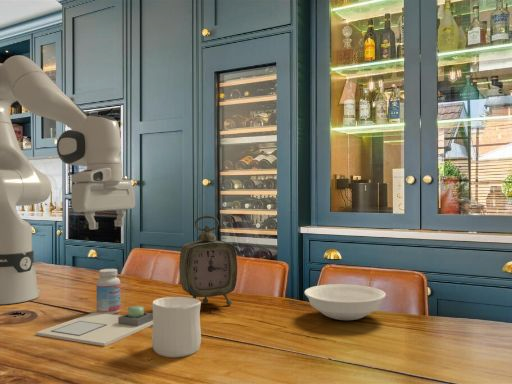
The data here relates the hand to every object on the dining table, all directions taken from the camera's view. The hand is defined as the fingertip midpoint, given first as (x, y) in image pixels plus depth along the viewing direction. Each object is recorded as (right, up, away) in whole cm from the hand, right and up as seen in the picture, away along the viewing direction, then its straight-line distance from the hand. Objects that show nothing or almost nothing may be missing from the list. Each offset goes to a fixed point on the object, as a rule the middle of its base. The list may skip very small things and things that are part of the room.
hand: (106, 227), depth 121 cm
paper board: (+3, -23, -14) cm, 27 cm away
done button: (+11, -21, -11) cm, 26 cm away
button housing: (+11, -22, -11) cm, 27 cm away
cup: (+24, -23, -29) cm, 44 cm away
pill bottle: (+1, -23, 0) cm, 23 cm away
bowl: (+62, -22, -8) cm, 66 cm away
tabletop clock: (+26, -22, +6) cm, 35 cm away
